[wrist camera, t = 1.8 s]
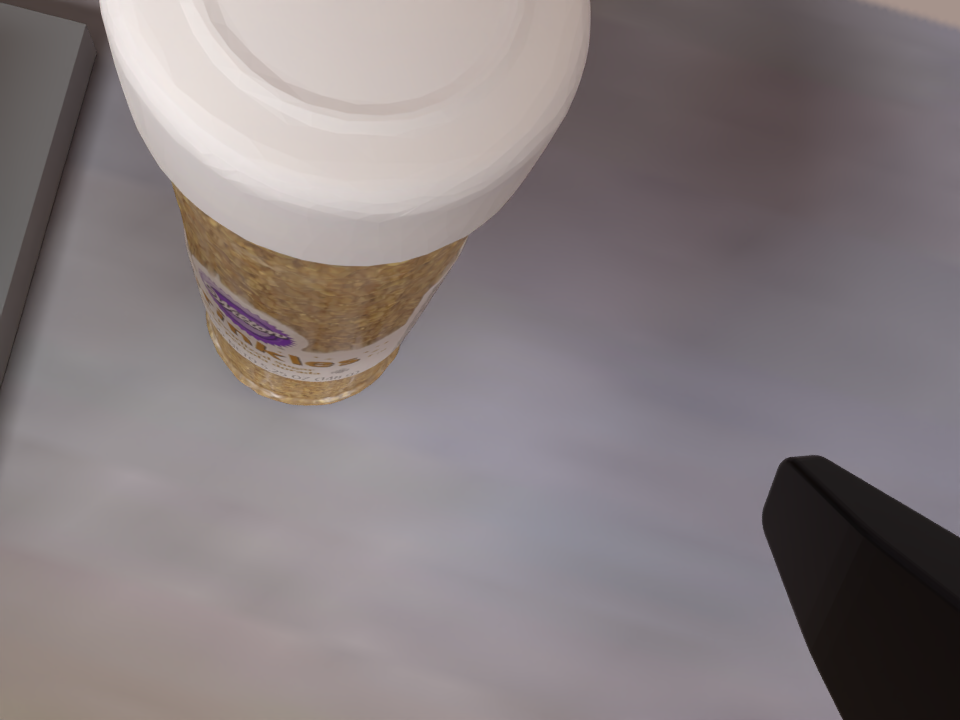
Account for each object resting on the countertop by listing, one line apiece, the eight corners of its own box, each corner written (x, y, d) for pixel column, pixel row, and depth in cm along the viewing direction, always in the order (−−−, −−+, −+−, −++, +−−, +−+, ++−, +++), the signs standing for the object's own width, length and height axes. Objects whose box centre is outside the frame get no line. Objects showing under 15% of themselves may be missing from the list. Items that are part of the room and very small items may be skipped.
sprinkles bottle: (176, 367, 20) (-13, 74, 7) (253, 188, 21) (210, -348, 8) (370, 438, 21) (520, 286, 8) (435, 260, 22) (661, -132, 9)
